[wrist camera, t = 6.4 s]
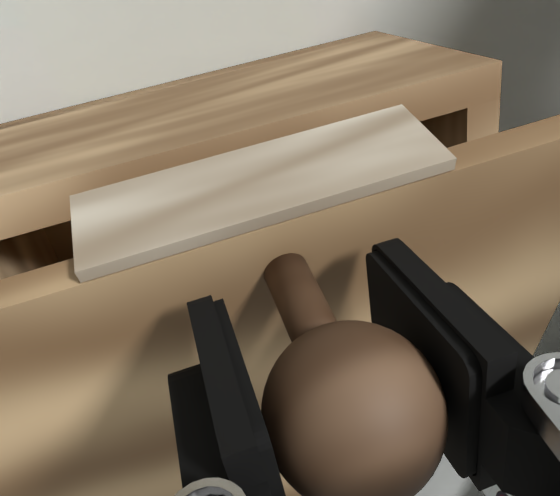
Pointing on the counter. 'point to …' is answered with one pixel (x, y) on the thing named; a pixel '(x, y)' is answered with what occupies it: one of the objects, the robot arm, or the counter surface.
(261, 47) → the counter surface
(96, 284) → the wooden box lid
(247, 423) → the robot arm
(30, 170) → the wooden box
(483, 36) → the counter surface
